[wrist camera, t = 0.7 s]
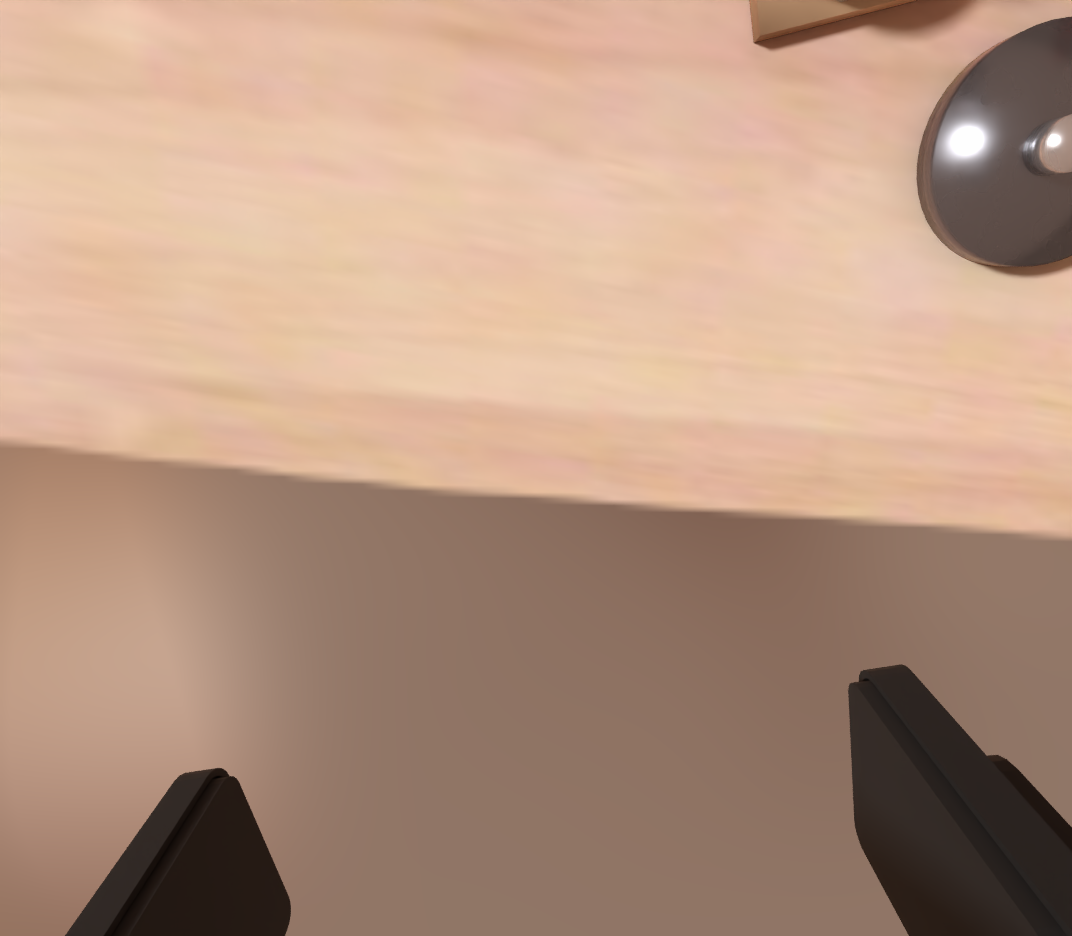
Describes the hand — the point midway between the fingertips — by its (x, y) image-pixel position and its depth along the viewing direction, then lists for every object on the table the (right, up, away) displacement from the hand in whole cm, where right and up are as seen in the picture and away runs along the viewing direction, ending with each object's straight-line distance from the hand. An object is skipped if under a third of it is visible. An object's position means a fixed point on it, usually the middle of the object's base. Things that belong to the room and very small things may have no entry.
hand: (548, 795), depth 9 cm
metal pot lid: (+25, +21, +23) cm, 40 cm away
